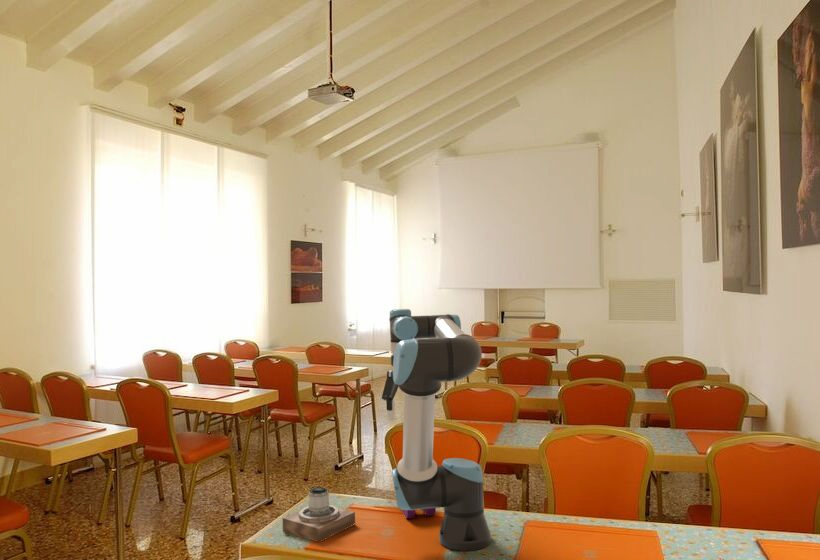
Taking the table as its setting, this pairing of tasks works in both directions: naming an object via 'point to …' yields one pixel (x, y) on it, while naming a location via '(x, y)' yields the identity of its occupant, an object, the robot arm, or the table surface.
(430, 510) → the mounting bracket
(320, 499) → the camera lens
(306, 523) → the mount block
